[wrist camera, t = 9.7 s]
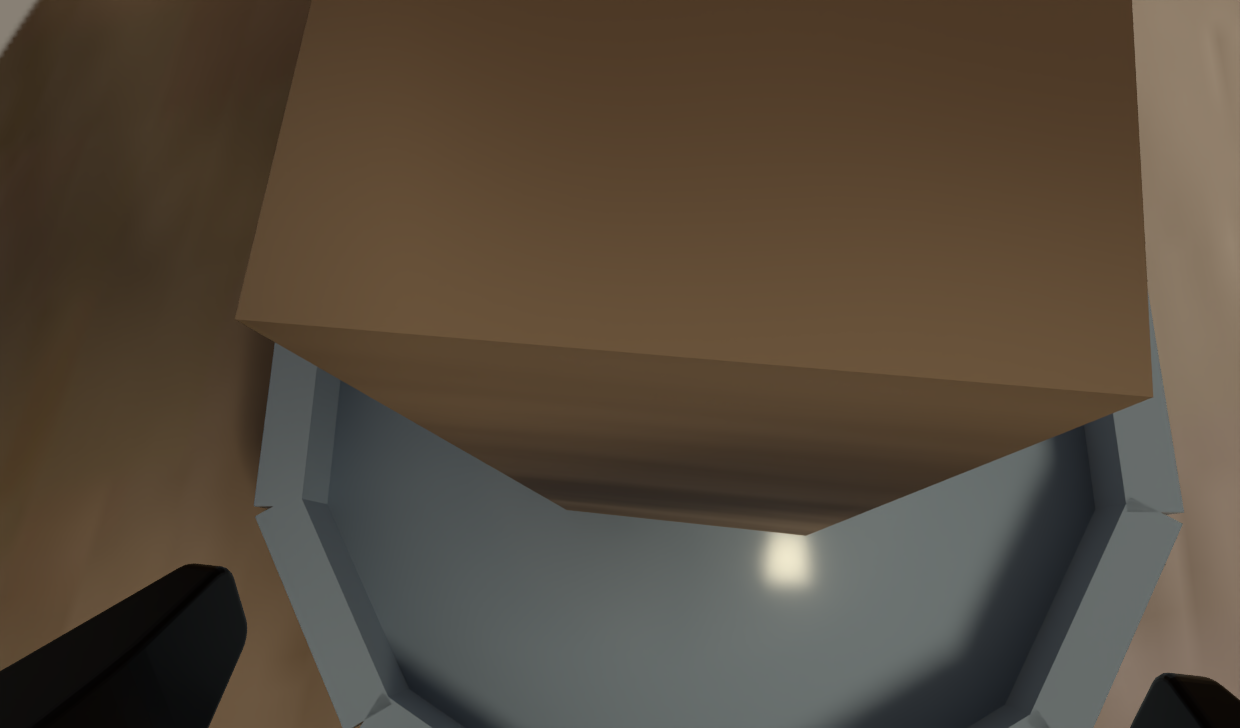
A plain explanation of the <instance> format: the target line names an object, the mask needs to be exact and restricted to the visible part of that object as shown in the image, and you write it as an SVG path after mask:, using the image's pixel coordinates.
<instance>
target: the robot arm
mask: <svg viewBox="0 0 1240 728" xmlns="http://www.w3.org/2000/svg"><path fill="white" fill-rule="evenodd" d="M246 635H247V622H246V618H245V614H244V611H243V608H242V604H241V601H240V597H239V594H238V591H237V587H236V584H235V581H234V577H233V575H232V573H231V572H230V571H229V570H228V569H227V568H224V567H221V566H212V565H203V564H187V565H184V566H182V567H180V568H178V569H176V570H174V571H173V572H171V573H169V574H168V575H166V576H164V577H162V578H161V579H159V580H157V581H155V582H154V583H152V584H150V585H149V586H147V587H145V588H143V589H142V590H140V591H138V592H136V593H135V594H133V595H131V596H130V597H128V598H126V599H124V600H123V601H121V602H119V603H117V604H116V605H114V606H112V607H111V608H109V609H107V610H105V611H104V612H102V613H100V614H98V615H97V616H95V617H93V618H92V619H90V620H88V621H86V622H85V623H83V624H81V625H79V626H78V627H76V628H74V629H72V630H71V631H69V632H67V633H66V634H64V635H62V636H60V637H59V638H57V639H55V640H53V641H52V642H50V643H48V644H47V645H45V646H43V647H41V648H40V649H38V650H36V651H34V652H33V653H31V654H29V655H28V656H26V657H24V658H22V659H21V660H19V661H17V662H15V663H14V664H12V665H10V666H9V667H7V668H5V669H3V670H2V671H0V728H208V727H209V725H210V723H211V720H212V718H213V716H214V714H215V711H216V709H217V707H218V704H219V702H220V700H221V698H222V695H223V693H224V691H225V688H226V686H227V684H228V682H229V679H230V677H231V675H232V672H233V670H234V668H235V666H236V663H237V661H238V659H239V656H240V654H241V652H242V650H243V647H244V644H245V640H246ZM1130 728H1240V700H1239V699H1238V698H1237V697H1235V696H1234V695H1233V694H1232V693H1231V692H1229V691H1228V690H1227V689H1226V688H1224V687H1223V686H1222V685H1220V684H1219V683H1218V682H1216V681H1214V680H1212V679H1210V678H1207V677H1201V676H1193V675H1184V674H1175V673H1163V674H1161V675H1160V676H1158V677H1157V678H1155V680H1154V681H1153V683H1152V685H1151V687H1150V689H1149V691H1148V693H1147V695H1146V697H1145V699H1144V701H1143V703H1142V705H1141V707H1140V709H1139V711H1138V713H1137V715H1136V717H1135V719H1134V721H1133V723H1132V725H1131V727H1130Z"/></svg>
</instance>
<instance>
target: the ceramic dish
mask: <svg viewBox="0 0 1240 728" xmlns="http://www.w3.org/2000/svg"><path fill="white" fill-rule="evenodd" d="M1148 308H1149V326H1150V345H1151V363H1152V381H1153V397H1152V398H1150V399H1147V400H1145V401H1142V402H1140V403H1137V404H1135V405H1132V406H1130V407H1127V408H1125V409H1122V410H1120V411H1117V412H1115V413H1112V414H1110V415H1107V416H1105V417H1102V418H1100V419H1097V420H1095V421H1092V422H1090V423H1087V424H1085V425H1082V426H1080V427H1077V428H1075V429H1072V430H1070V431H1067V432H1065V433H1062V434H1060V435H1057V436H1055V437H1052V438H1050V439H1047V440H1045V441H1042V442H1040V443H1037V444H1035V445H1032V446H1030V447H1027V448H1025V449H1022V450H1020V451H1017V452H1015V453H1012V454H1010V455H1007V456H1005V457H1002V458H1000V459H997V460H995V461H992V462H990V463H987V464H984V465H982V466H979V467H977V468H974V469H972V470H969V471H967V472H964V473H962V474H959V475H957V476H954V477H952V478H949V479H947V480H944V481H942V482H939V483H937V484H934V485H932V486H929V487H927V488H924V489H922V490H919V491H917V492H914V493H912V494H909V495H907V496H904V497H902V498H899V499H897V500H894V501H892V502H889V503H887V504H884V505H882V506H879V507H877V508H874V509H872V510H869V511H867V512H864V513H862V514H859V515H857V516H854V517H852V518H849V519H847V520H844V521H842V522H839V523H837V524H834V525H832V526H829V527H827V528H824V529H822V530H819V531H817V532H814V533H812V534H809V535H807V536H804V535H795V534H785V533H776V532H767V531H757V530H748V529H739V528H729V527H720V526H711V525H701V524H692V523H683V522H673V521H664V520H655V519H645V518H636V517H627V516H617V515H608V514H599V513H589V512H580V511H571V510H566V509H564V508H562V507H560V506H559V505H557V504H555V503H553V502H552V501H550V500H548V499H547V498H545V497H543V496H541V495H540V494H538V493H536V492H534V491H533V490H531V489H529V488H527V487H526V486H524V485H522V484H520V483H519V482H517V481H515V480H513V479H512V478H510V477H508V476H506V475H505V474H503V473H501V472H500V471H498V470H496V469H494V468H493V467H491V466H489V465H487V464H486V463H484V462H482V461H480V460H479V459H477V458H475V457H473V456H472V455H470V454H468V453H466V452H465V451H463V450H461V449H460V448H458V447H456V446H454V445H453V444H451V443H449V442H447V441H446V440H444V439H442V438H440V437H439V436H437V435H435V434H433V433H432V432H430V431H428V430H426V429H425V428H423V427H421V426H419V425H418V424H416V423H414V422H413V421H411V420H409V419H407V418H406V417H404V416H402V415H400V414H399V413H397V412H395V411H393V410H392V409H390V408H388V407H386V406H385V405H383V404H381V403H379V402H378V401H376V400H374V399H373V398H371V397H369V396H367V395H366V394H364V393H362V392H360V391H359V390H357V389H355V388H353V387H352V386H350V385H348V384H346V383H345V382H343V381H341V380H339V379H338V378H336V377H334V376H333V375H331V374H329V373H327V372H326V371H324V370H322V369H320V368H319V367H317V366H315V365H313V364H312V363H310V362H308V361H306V360H305V359H303V358H301V357H299V356H298V355H296V354H294V353H292V352H291V351H289V350H287V349H286V348H284V347H282V346H280V345H279V344H277V343H275V346H274V354H273V361H272V369H271V377H270V385H269V392H268V400H267V408H266V416H265V423H264V431H263V439H262V447H261V454H260V462H259V470H258V478H257V485H256V493H255V501H254V506H256V507H262V508H267V509H268V510H266V511H264V512H262V513H260V514H259V515H257V516H255V517H256V520H257V522H258V525H259V527H260V530H261V532H262V534H263V537H264V539H265V542H266V544H267V546H268V549H269V551H270V554H271V556H272V558H273V561H274V563H275V566H276V568H277V570H278V573H279V575H280V578H281V580H282V583H283V585H284V587H285V590H286V592H287V595H288V597H289V599H290V602H291V604H292V607H293V609H294V611H295V614H296V616H297V619H298V621H299V623H300V626H301V628H302V631H303V633H304V636H305V638H306V640H307V643H308V645H309V648H310V650H311V652H312V655H313V657H314V660H315V662H316V664H317V667H318V669H319V672H320V674H321V676H322V679H323V681H324V684H325V686H326V689H327V691H328V693H329V696H330V698H331V701H332V703H333V705H334V708H335V710H336V713H337V715H338V717H339V720H340V722H341V725H342V727H343V728H355V727H357V726H359V725H361V726H360V728H1093V727H1094V725H1095V723H1096V720H1097V718H1098V716H1099V713H1100V711H1101V709H1102V707H1103V704H1104V702H1105V700H1106V697H1107V695H1108V693H1109V691H1110V688H1111V686H1112V684H1113V682H1114V679H1115V677H1116V675H1117V672H1118V670H1119V668H1120V666H1121V663H1122V661H1123V659H1124V656H1125V654H1126V652H1127V650H1128V647H1129V645H1130V643H1131V641H1132V638H1133V636H1134V634H1135V631H1136V629H1137V627H1138V625H1139V622H1140V620H1141V618H1142V615H1143V613H1144V611H1145V609H1146V606H1147V604H1148V602H1149V600H1150V597H1151V595H1152V593H1153V590H1154V588H1155V586H1156V584H1157V581H1158V579H1159V577H1160V574H1161V572H1162V570H1163V568H1164V565H1165V563H1166V561H1167V558H1168V556H1169V554H1170V552H1171V549H1172V547H1173V545H1174V543H1175V540H1176V538H1177V536H1178V533H1179V531H1180V529H1181V527H1182V523H1180V522H1178V521H1176V520H1174V519H1172V518H1170V517H1168V516H1166V515H1170V514H1177V513H1184V509H1183V503H1182V497H1181V491H1180V485H1179V479H1178V473H1177V467H1176V460H1175V454H1174V448H1173V442H1172V436H1171V430H1170V424H1169V418H1168V412H1167V405H1166V399H1165V393H1164V387H1163V381H1162V375H1161V369H1160V363H1159V357H1158V350H1157V344H1156V338H1155V332H1154V326H1153V320H1152V314H1151V308H1150V301H1149V295H1148Z"/></svg>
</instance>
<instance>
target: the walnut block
mask: <svg viewBox="0 0 1240 728" xmlns="http://www.w3.org/2000/svg"><path fill="white" fill-rule="evenodd" d="M235 320H237V321H239V322H240V323H242V324H244V325H246V326H247V327H249V328H251V329H252V330H254V331H256V332H258V333H259V334H261V335H263V336H265V337H266V338H268V339H270V340H272V341H273V342H275V343H277V344H279V345H280V346H282V347H284V348H286V349H287V350H289V351H291V352H292V353H294V354H296V355H298V356H299V357H301V358H303V359H305V360H306V361H308V362H310V363H312V364H313V365H315V366H317V367H319V368H320V369H322V370H324V371H326V372H327V373H329V374H331V375H333V376H334V377H336V378H338V379H339V380H341V381H343V382H345V383H346V384H348V385H350V386H352V387H353V388H355V389H357V390H359V391H360V392H362V393H364V394H366V395H367V396H369V397H371V398H373V399H374V400H376V401H378V402H379V403H381V404H383V405H385V406H386V407H388V408H390V409H392V410H393V411H395V412H397V413H399V414H400V415H402V416H404V417H406V418H407V419H409V420H411V421H413V422H414V423H416V424H418V425H419V426H421V427H423V428H425V429H426V430H428V431H430V432H432V433H433V434H435V435H437V436H439V437H440V438H442V439H444V440H446V441H447V442H449V443H451V444H453V445H454V446H456V447H458V448H460V449H461V450H463V451H465V452H466V453H468V454H470V455H472V456H473V457H475V458H477V459H479V460H480V461H482V462H484V463H486V464H487V465H489V466H491V467H493V468H494V469H496V470H498V471H500V472H501V473H503V474H505V475H506V476H508V477H510V478H512V479H513V480H515V481H517V482H519V483H520V484H522V485H524V486H526V487H527V488H529V489H531V490H533V491H534V492H536V493H538V494H540V495H541V496H543V497H545V498H547V499H548V500H550V501H552V502H553V503H555V504H557V505H559V506H560V507H562V508H564V509H566V510H571V511H580V512H589V513H599V514H608V515H617V516H627V517H636V518H645V519H655V520H664V521H673V522H683V523H692V524H701V525H711V526H720V527H729V528H739V529H748V530H757V531H767V532H776V533H785V534H795V535H804V536H807V535H809V534H812V533H814V532H817V531H819V530H822V529H824V528H827V527H829V526H832V525H834V524H837V523H839V522H842V521H844V520H847V519H849V518H852V517H854V516H857V515H859V514H862V513H864V512H867V511H869V510H872V509H874V508H877V507H879V506H882V505H884V504H887V503H889V502H892V501H894V500H897V499H899V498H902V497H904V496H907V495H909V494H912V493H914V492H917V491H919V490H922V489H924V488H927V487H929V486H932V485H934V484H937V483H939V482H942V481H944V480H947V479H949V478H952V477H954V476H957V475H959V474H962V473H964V472H967V471H969V470H972V469H974V468H977V467H979V466H982V465H984V464H987V463H990V462H992V461H995V460H997V459H1000V458H1002V457H1005V456H1007V455H1010V454H1012V453H1015V452H1017V451H1020V450H1022V449H1025V448H1027V447H1030V446H1032V445H1035V444H1037V443H1040V442H1042V441H1045V440H1047V439H1050V438H1052V437H1055V436H1057V435H1060V434H1062V433H1065V432H1067V431H1070V430H1072V429H1075V428H1077V427H1080V426H1082V425H1085V424H1087V423H1090V422H1092V421H1095V420H1097V419H1100V418H1102V417H1105V416H1107V415H1110V414H1112V413H1115V412H1117V411H1120V410H1122V409H1125V408H1127V407H1130V406H1132V405H1135V404H1137V403H1140V402H1142V401H1145V400H1147V399H1150V398H1152V397H1153V381H1152V363H1151V345H1150V326H1149V308H1148V289H1147V271H1146V252H1145V234H1144V216H1143V197H1142V179H1141V160H1140V142H1139V124H1138V105H1137V87H1136V68H1135V50H1134V31H1133V13H1132V0H311V5H310V9H309V13H308V17H307V21H306V25H305V29H304V34H303V38H302V42H301V46H300V50H299V54H298V58H297V63H296V67H295V71H294V75H293V79H292V83H291V87H290V92H289V96H288V100H287V104H286V108H285V112H284V116H283V121H282V125H281V129H280V133H279V137H278V141H277V145H276V150H275V154H274V158H273V162H272V166H271V170H270V174H269V179H268V183H267V187H266V191H265V195H264V199H263V203H262V208H261V212H260V216H259V220H258V224H257V228H256V232H255V237H254V241H253V245H252V249H251V253H250V257H249V261H248V266H247V270H246V274H245V278H244V282H243V286H242V290H241V295H240V299H239V303H238V307H237V311H236V315H235Z"/></svg>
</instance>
